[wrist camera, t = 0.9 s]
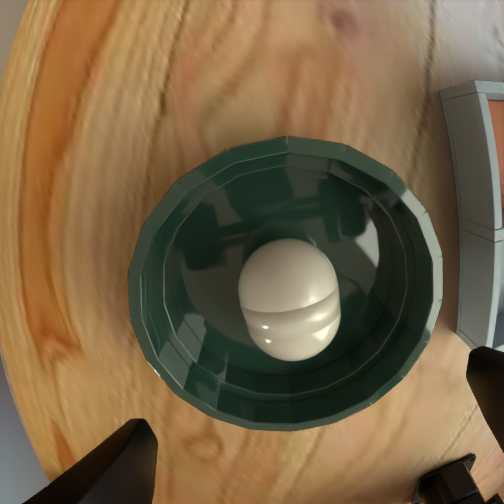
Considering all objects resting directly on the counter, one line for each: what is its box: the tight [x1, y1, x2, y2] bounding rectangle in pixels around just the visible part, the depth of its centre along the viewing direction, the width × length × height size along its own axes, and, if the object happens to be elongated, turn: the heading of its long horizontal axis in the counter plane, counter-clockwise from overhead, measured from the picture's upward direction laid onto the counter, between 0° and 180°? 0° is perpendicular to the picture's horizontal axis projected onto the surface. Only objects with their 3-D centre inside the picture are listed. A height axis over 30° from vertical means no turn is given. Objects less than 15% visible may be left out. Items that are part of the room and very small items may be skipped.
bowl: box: [128, 136, 443, 431], centre depth 14 cm, size 13×13×4 cm
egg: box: [238, 238, 341, 361], centre depth 14 cm, size 5×4×4 cm
